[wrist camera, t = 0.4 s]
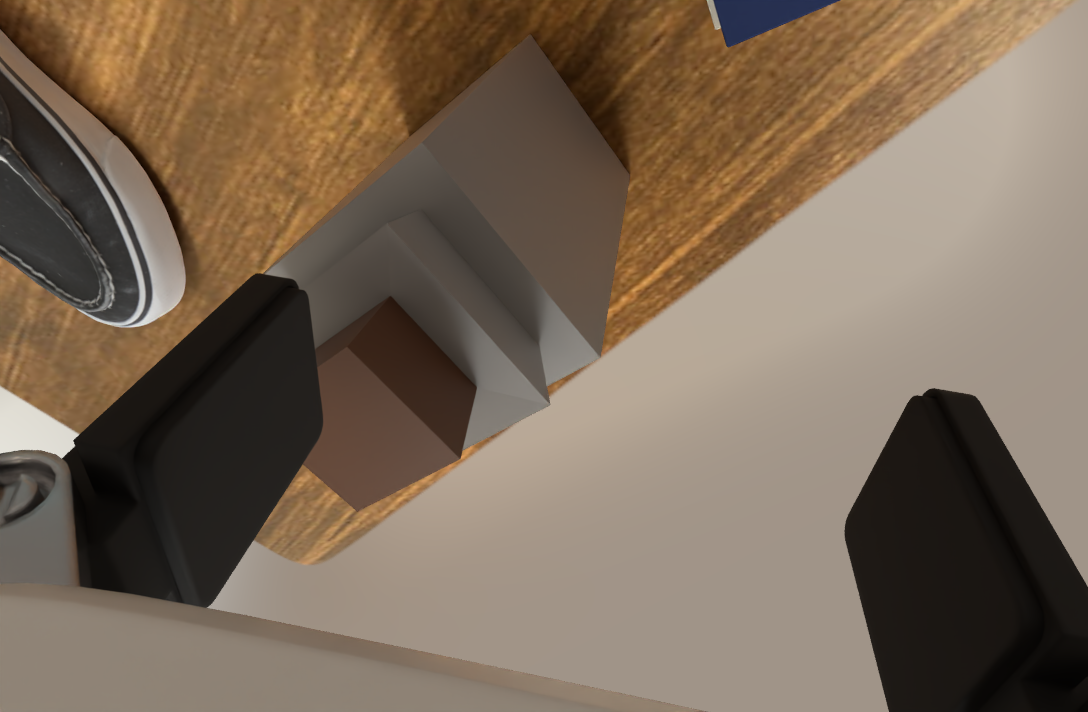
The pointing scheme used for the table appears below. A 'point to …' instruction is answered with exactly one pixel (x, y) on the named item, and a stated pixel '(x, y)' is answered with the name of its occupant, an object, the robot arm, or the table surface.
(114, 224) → the boat shoe
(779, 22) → the high-top sneaker
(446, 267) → the perfume bottle
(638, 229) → the table surface
